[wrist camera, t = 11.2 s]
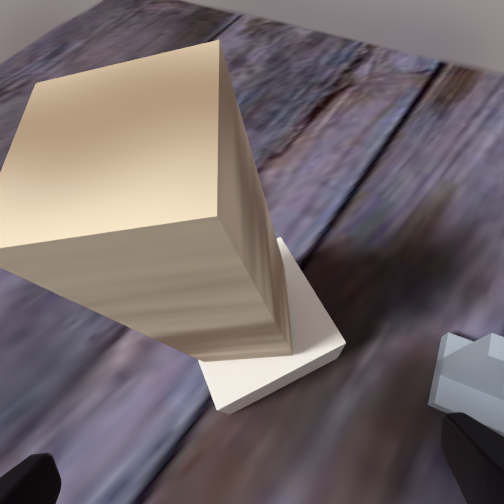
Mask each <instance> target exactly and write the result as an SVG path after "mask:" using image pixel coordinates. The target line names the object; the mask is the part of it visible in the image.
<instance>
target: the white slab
mask: <svg viewBox="0 0 504 504" xmlns="http://www.w3.org/2000/svg"><path fill="white" fill-rule="evenodd" d="M277 242H278V246H279V249H280V253H281V256H282V260H283V263H284V266H285V270H286V281H287V292H288V303H289V314H290V325H291V336H292V347H293V356H279V357H266V358H252V359H239V360H225V361H212V362H203V361H200V360H198V361H199V364H200V366H201V369H202V372H203V374H204V377H205V380H206V382H207V385H208V388H209V390H210V393H211V396H212V398H213V401H214V404H215V406H216V409H217V411H220V412H223V413H226V414H229V415H231V414H233V413H234V412H236V411H238V410H240V409H242V408H244V407H246V406H248V405H250V404H252V403H253V402H255V401H257V400H259V399H261V398H263V397H265V396H267V395H269V394H271V393H272V392H274V391H276V390H278V389H280V388H282V387H284V386H286V385H288V384H289V383H291V382H293V381H295V380H297V379H299V378H301V377H303V376H305V375H307V374H308V373H310V372H312V371H314V370H316V369H318V368H320V367H322V366H324V365H326V364H327V363H329V362H331V361H333V360H335V359H337V358H338V356H339V355H340V353H341V351H342V349H343V348H344V346H345V344H346V342H345V340H344V339H343V337H342V335H341V334H340V332H339V330H338V329H337V327H336V326H335V324H334V322H333V321H332V319H331V318H330V316H329V314H328V313H327V311H326V310H325V308H324V306H323V305H322V303H321V301H320V300H319V298H318V297H317V295H316V293H315V292H314V290H313V289H312V287H311V285H310V284H309V282H308V280H307V279H306V277H305V276H304V274H303V272H302V271H301V269H300V268H299V266H298V264H297V263H296V261H295V260H294V258H293V256H292V255H291V253H290V251H289V250H288V248H287V247H286V245H285V243H284V242H283V240H282V239H281V237H279V238H277Z"/></svg>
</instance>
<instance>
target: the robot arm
mask: <svg viewBox="0 0 504 504" xmlns="http://www.w3.org/2000/svg"><path fill="white" fill-rule="evenodd" d="M441 445H442V449H443V453H444V455H445V458H446V460H447V462H448V464H449V466H450V468H451V470H452V472H453V475H454V477H455V479H456V481H457V483H458V485H459V487H460V489H461V492H462V494H463V496H464V498H465V500H466V502H467V504H504V436H502V435H500V434H499V433H497V432H495V431H494V430H492V429H490V428H489V427H487V426H486V425H484V424H482V423H481V422H479V421H477V420H476V419H474V418H472V417H471V416H469V415H467V414H465V413H463V412H454V413H446V414H444V415H443V416H442V433H441ZM60 489H61V477H60V474H59V472H58V469H57V466H56V464H55V461H54V458H53V456H52V455H51V454H50V453H41V454H34V455H31V456H29V457H27V458H26V459H25V460H23V461H22V462H21V463H19V464H18V465H17V466H15V467H14V468H13V469H11V470H10V471H8V472H7V473H6V474H4V475H3V476H2V477H0V504H56V501H57V498H58V496H59V493H60Z"/></svg>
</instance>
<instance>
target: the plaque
mask: <svg viewBox="0 0 504 504" xmlns="http://www.w3.org/2000/svg"><path fill="white" fill-rule="evenodd" d="M428 405H429V406H431V407H434V408H436V409H438V410H441V411H443V412H445V413H454V412H463V413H465V414H467V415H469V416H471V417H472V418H474V419H476V420H477V421H479V422H481V423H482V424H484V425H486V426H487V427H489V428H490V429H492V430H494V431H495V432H497V433H499V434H500V435H502V436H504V337H502V336H499V335H496V334H493V333H490V334H488V335H486V336H484V337H482V338H480V339H478V340H476V341H475V342H473V341H471V340H468V339H465V338H462V337H460V336H457V335H454V334H451V333H449V332H448V333H447V334H445V335H444V336H442V337H441V342H440V347H439V352H438V357H437V362H436V366H435V371H434V376H433V381H432V386H431V391H430V396H429V401H428Z"/></svg>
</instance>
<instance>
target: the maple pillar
mask: <svg viewBox="0 0 504 504" xmlns="http://www.w3.org/2000/svg"><path fill="white" fill-rule="evenodd" d="M0 268H2V269H5V270H7V271H9V272H11V273H13V274H15V275H17V276H20V277H22V278H24V279H26V280H28V281H30V282H33V283H35V284H37V285H39V286H41V287H43V288H45V289H48V290H50V291H52V292H54V293H56V294H58V295H61V296H63V297H65V298H67V299H69V300H71V301H73V302H76V303H78V304H80V305H82V306H84V307H86V308H89V309H91V310H93V311H95V312H97V313H99V314H101V315H104V316H106V317H108V318H110V319H112V320H114V321H116V322H119V323H121V324H123V325H125V326H127V327H129V328H132V329H134V330H136V331H138V332H140V333H142V334H144V335H147V336H149V337H151V338H153V339H155V340H157V341H160V342H162V343H164V344H166V345H168V346H170V347H172V348H175V349H177V350H179V351H181V352H183V353H185V354H188V355H190V356H192V357H194V358H196V359H198V360H200V361H203V362H212V361H225V360H239V359H252V358H266V357H279V356H293V347H292V336H291V325H290V314H289V303H288V292H287V281H286V270H285V266H284V263H283V260H282V256H281V253H280V249H279V246H278V242H277V239H276V235H275V232H274V228H273V225H272V221H271V218H270V214H269V211H268V207H267V204H266V200H265V197H264V193H263V190H262V186H261V183H260V180H259V176H258V173H257V169H256V166H255V162H254V159H253V155H252V152H251V148H250V145H249V141H248V138H247V134H246V131H245V127H244V124H243V120H242V117H241V113H240V110H239V106H238V103H237V100H236V96H235V93H234V89H233V86H232V82H231V79H230V75H229V72H228V68H227V65H226V61H225V58H224V54H223V51H222V47H221V44H220V40H216V41H212V42H208V43H204V44H199V45H195V46H191V47H187V48H182V49H178V50H174V51H170V52H166V53H161V54H157V55H153V56H149V57H144V58H140V59H136V60H132V61H128V62H123V63H119V64H115V65H111V66H106V67H102V68H98V69H94V70H90V71H85V72H81V73H77V74H73V75H68V76H64V77H60V78H56V79H52V80H47V81H43V82H39V83H36V84H35V87H34V89H33V92H32V94H31V97H30V99H29V102H28V104H27V107H26V109H25V112H24V114H23V117H22V119H21V122H20V124H19V127H18V129H17V132H16V135H15V137H14V140H13V142H12V145H11V147H10V150H9V152H8V155H7V157H6V160H5V162H4V165H3V167H2V170H1V172H0Z"/></svg>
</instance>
